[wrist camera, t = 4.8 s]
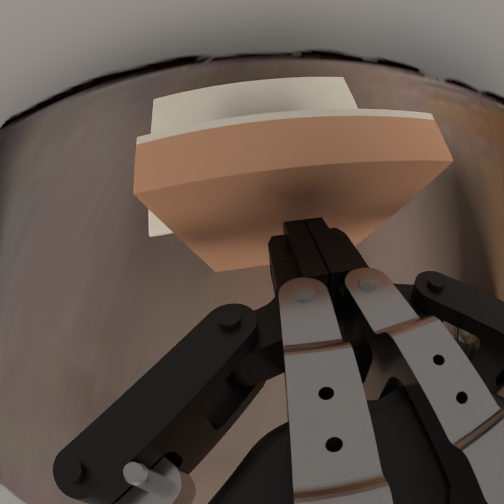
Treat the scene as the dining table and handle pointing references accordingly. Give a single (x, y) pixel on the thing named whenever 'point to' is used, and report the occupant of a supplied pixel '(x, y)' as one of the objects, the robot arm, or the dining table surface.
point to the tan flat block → (284, 176)
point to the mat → (245, 106)
